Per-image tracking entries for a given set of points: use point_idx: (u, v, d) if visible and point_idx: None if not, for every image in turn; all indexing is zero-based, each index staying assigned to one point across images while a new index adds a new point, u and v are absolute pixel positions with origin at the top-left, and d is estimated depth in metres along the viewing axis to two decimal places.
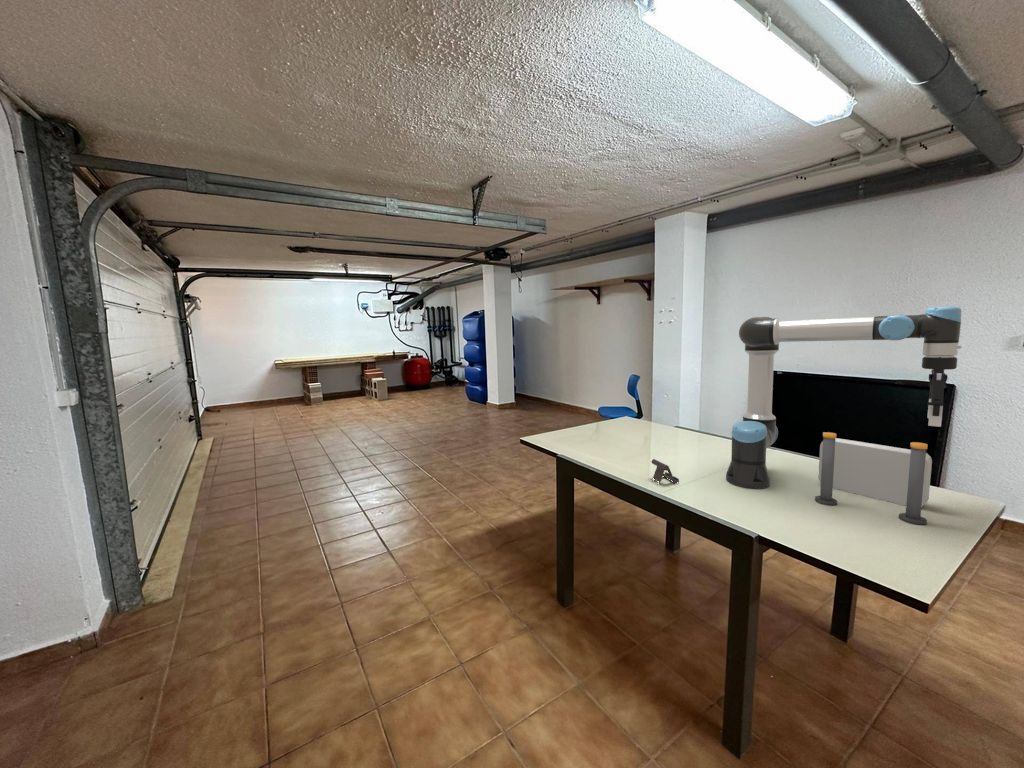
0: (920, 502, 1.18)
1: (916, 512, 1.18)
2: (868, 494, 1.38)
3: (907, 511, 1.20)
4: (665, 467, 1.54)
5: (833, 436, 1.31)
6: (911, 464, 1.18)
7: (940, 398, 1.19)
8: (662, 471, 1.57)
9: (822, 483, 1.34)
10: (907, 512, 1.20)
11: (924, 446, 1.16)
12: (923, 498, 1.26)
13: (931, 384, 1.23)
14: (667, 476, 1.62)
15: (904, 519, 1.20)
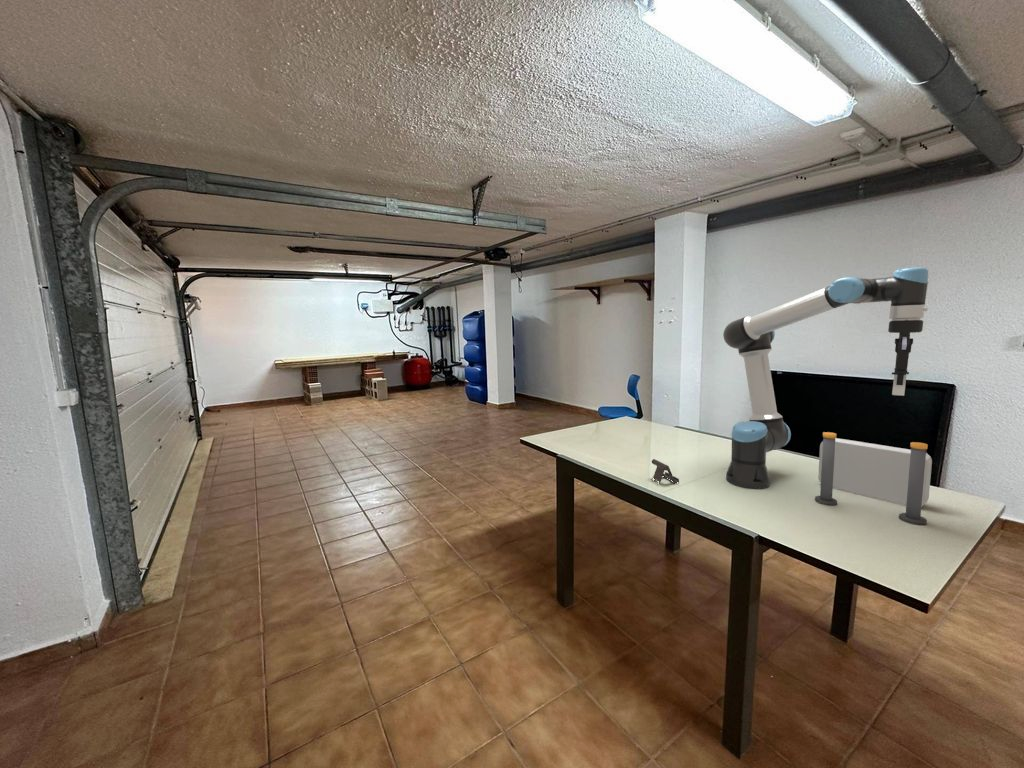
0: (920, 502, 1.18)
1: (916, 512, 1.18)
2: (868, 494, 1.38)
3: (907, 511, 1.20)
4: (665, 467, 1.54)
5: (833, 436, 1.31)
6: (911, 464, 1.18)
7: (904, 368, 1.20)
8: (662, 471, 1.57)
9: (822, 483, 1.34)
10: (907, 512, 1.20)
11: (924, 446, 1.16)
12: (923, 498, 1.26)
13: (896, 351, 1.22)
14: (667, 476, 1.62)
15: (904, 519, 1.20)
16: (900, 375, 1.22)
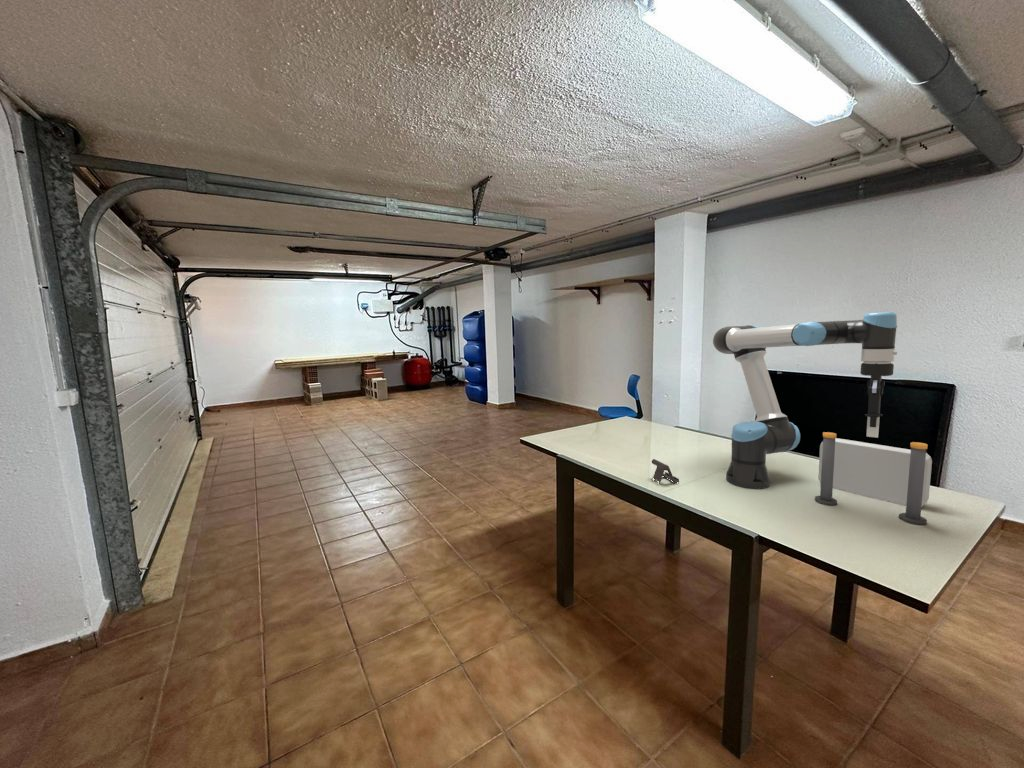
0: (920, 502, 1.18)
1: (916, 512, 1.18)
2: (868, 494, 1.38)
3: (907, 511, 1.20)
4: (665, 467, 1.54)
5: (833, 436, 1.31)
6: (911, 464, 1.18)
7: (876, 411, 1.20)
8: (662, 471, 1.57)
9: (822, 483, 1.34)
10: (907, 512, 1.20)
11: (924, 446, 1.16)
12: (923, 498, 1.26)
13: (868, 394, 1.23)
14: (667, 476, 1.62)
15: (904, 519, 1.20)
16: (873, 417, 1.23)
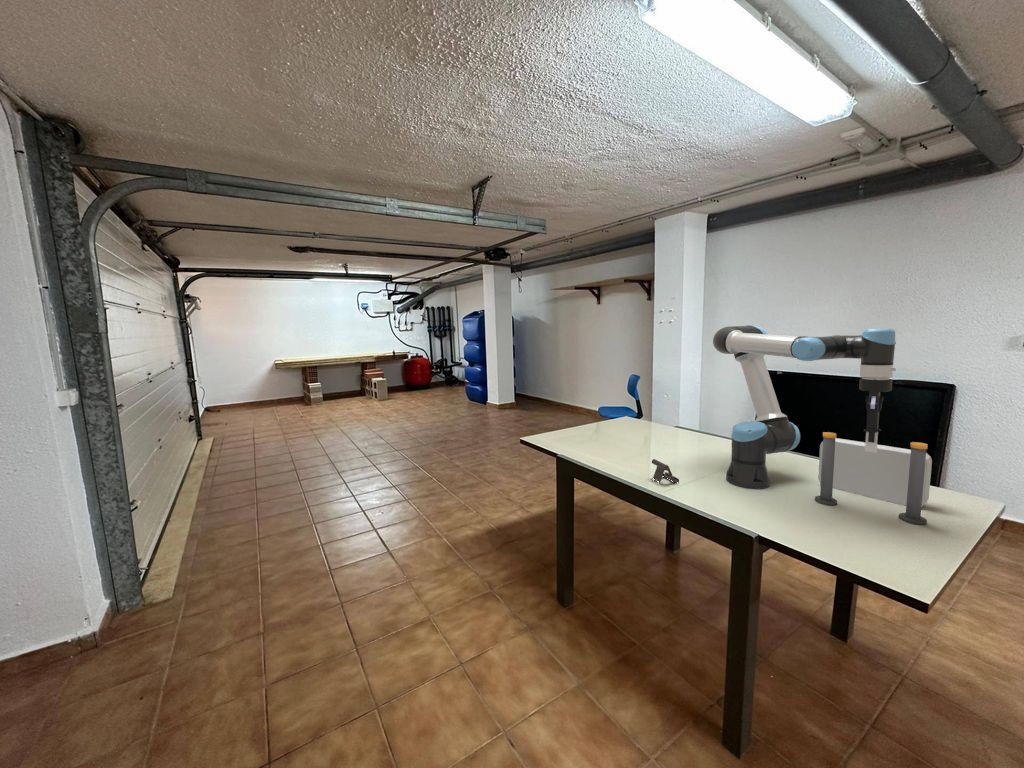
0: (920, 502, 1.18)
1: (916, 512, 1.18)
2: (868, 494, 1.38)
3: (907, 511, 1.20)
4: (665, 467, 1.54)
5: (833, 436, 1.31)
6: (911, 464, 1.18)
7: (874, 427, 1.21)
8: (662, 471, 1.57)
9: (822, 483, 1.34)
10: (907, 512, 1.20)
11: (924, 446, 1.16)
12: (923, 498, 1.26)
13: (867, 409, 1.23)
14: (667, 476, 1.62)
15: (904, 519, 1.20)
16: (871, 433, 1.23)
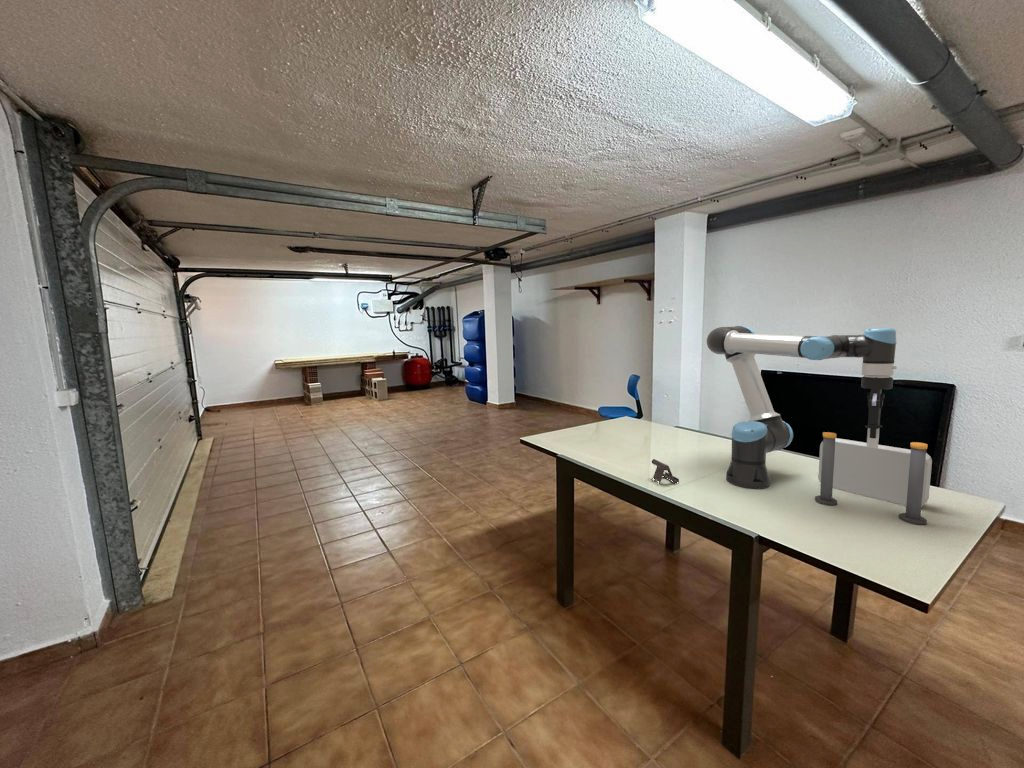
0: (920, 502, 1.18)
1: (916, 512, 1.18)
2: (868, 494, 1.38)
3: (907, 511, 1.20)
4: (665, 467, 1.54)
5: (833, 436, 1.31)
6: (911, 464, 1.18)
7: (875, 423, 1.25)
8: (662, 471, 1.57)
9: (822, 483, 1.34)
10: (907, 512, 1.20)
11: (924, 446, 1.16)
12: (923, 498, 1.26)
13: (869, 406, 1.28)
14: (667, 476, 1.62)
15: (904, 519, 1.20)
16: (873, 429, 1.28)
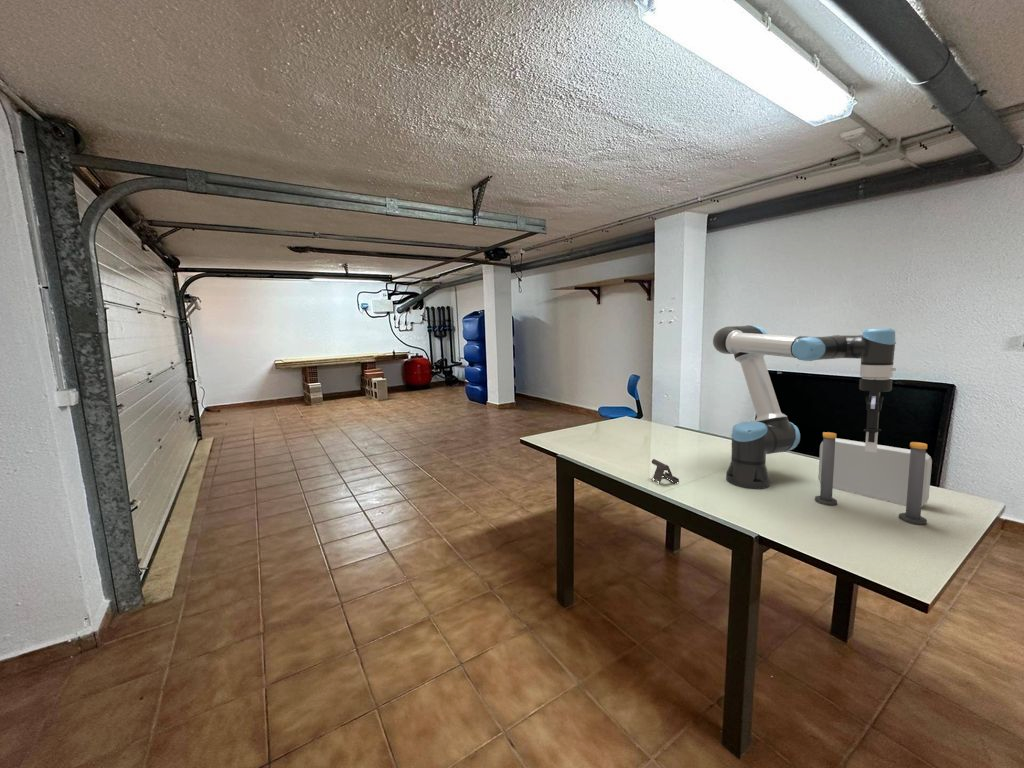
0: (920, 502, 1.18)
1: (916, 512, 1.18)
2: (868, 494, 1.38)
3: (907, 511, 1.20)
4: (665, 467, 1.54)
5: (833, 436, 1.31)
6: (911, 464, 1.18)
7: (874, 427, 1.21)
8: (662, 471, 1.57)
9: (822, 483, 1.34)
10: (907, 512, 1.20)
11: (924, 446, 1.16)
12: (923, 498, 1.26)
13: None
14: (667, 476, 1.62)
15: (904, 519, 1.20)
16: (871, 432, 1.23)
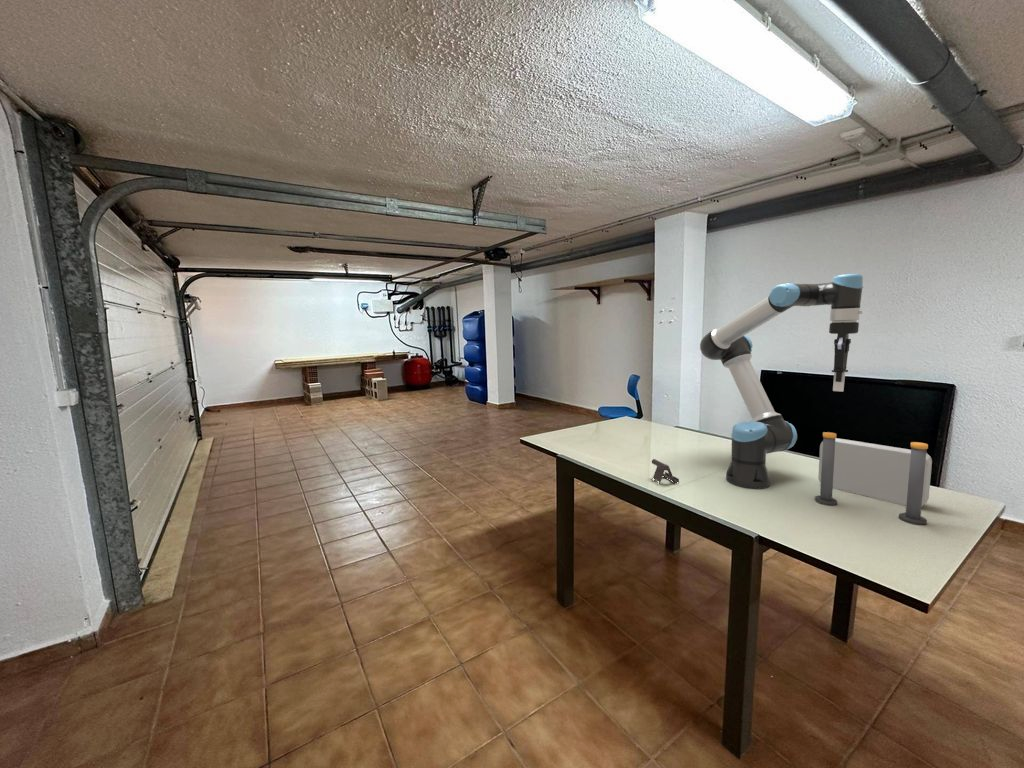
0: (920, 502, 1.18)
1: (916, 512, 1.18)
2: (868, 494, 1.38)
3: (907, 511, 1.20)
4: (665, 467, 1.54)
5: (833, 436, 1.31)
6: (911, 464, 1.18)
7: (841, 366, 1.31)
8: (662, 471, 1.57)
9: (822, 483, 1.34)
10: (907, 512, 1.20)
11: (924, 446, 1.16)
12: (923, 498, 1.26)
13: None
14: (667, 476, 1.62)
15: (904, 519, 1.20)
16: (838, 373, 1.33)
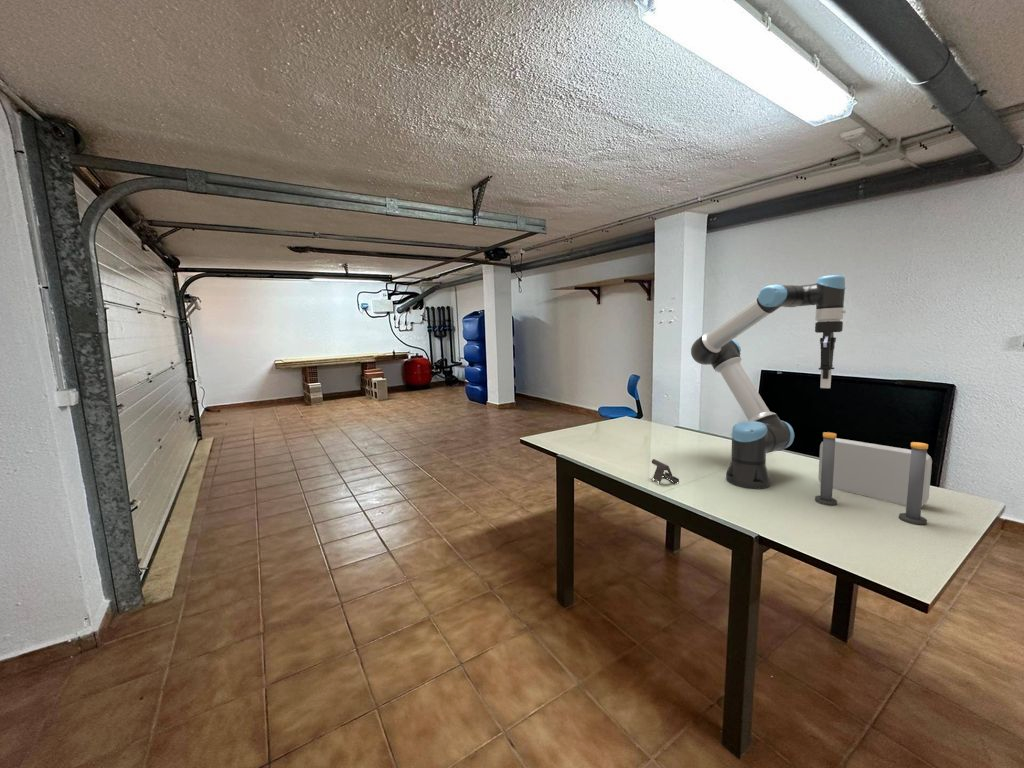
0: (920, 502, 1.18)
1: (916, 512, 1.18)
2: (868, 494, 1.38)
3: (907, 511, 1.20)
4: (665, 467, 1.54)
5: (833, 436, 1.31)
6: (911, 464, 1.18)
7: (827, 364, 1.36)
8: (662, 471, 1.57)
9: (822, 483, 1.34)
10: (907, 512, 1.20)
11: (925, 446, 1.16)
12: (923, 498, 1.26)
13: None
14: (667, 476, 1.62)
15: (904, 519, 1.20)
16: (825, 370, 1.38)
